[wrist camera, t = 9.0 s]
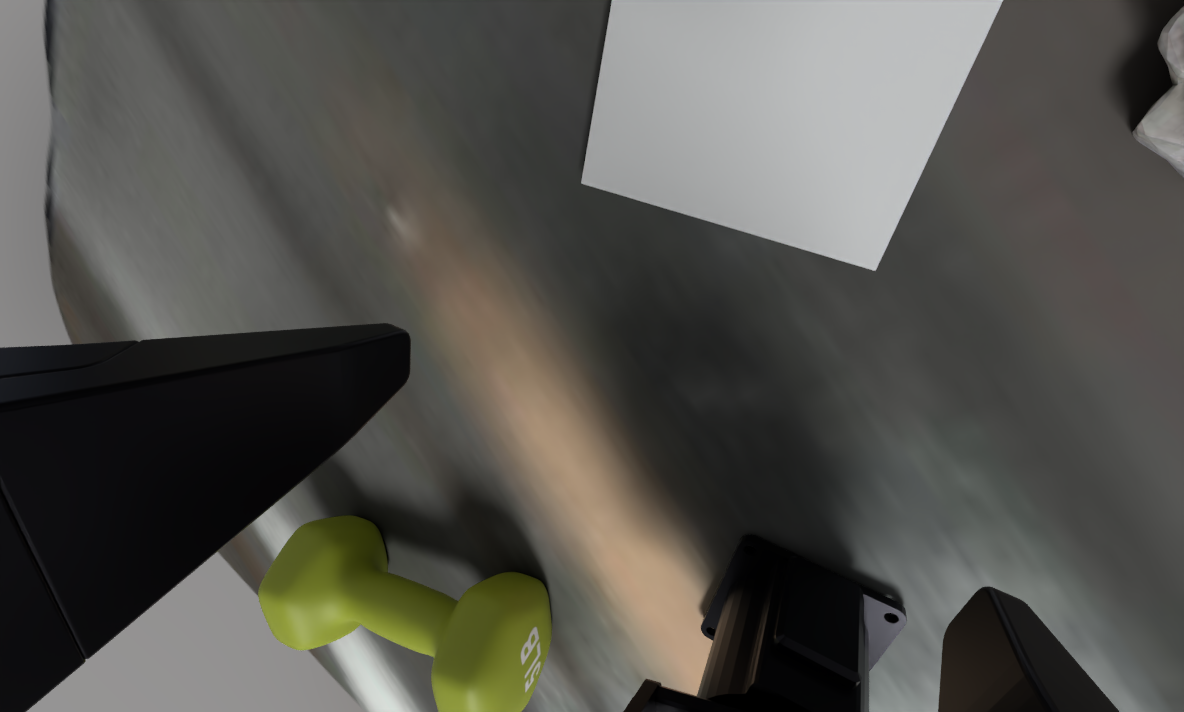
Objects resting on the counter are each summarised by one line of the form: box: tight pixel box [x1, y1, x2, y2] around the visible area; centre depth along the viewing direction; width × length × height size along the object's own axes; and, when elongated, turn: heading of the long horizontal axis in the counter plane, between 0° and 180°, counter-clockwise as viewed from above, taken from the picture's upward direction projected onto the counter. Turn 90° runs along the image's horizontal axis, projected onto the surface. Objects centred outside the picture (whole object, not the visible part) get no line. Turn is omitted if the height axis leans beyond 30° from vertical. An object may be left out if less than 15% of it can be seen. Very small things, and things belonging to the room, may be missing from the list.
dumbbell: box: [258, 515, 552, 712], centre depth 30 cm, size 16×8×7 cm, turn 93°
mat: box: [581, 0, 1003, 271], centre depth 15 cm, size 10×10×1 cm
